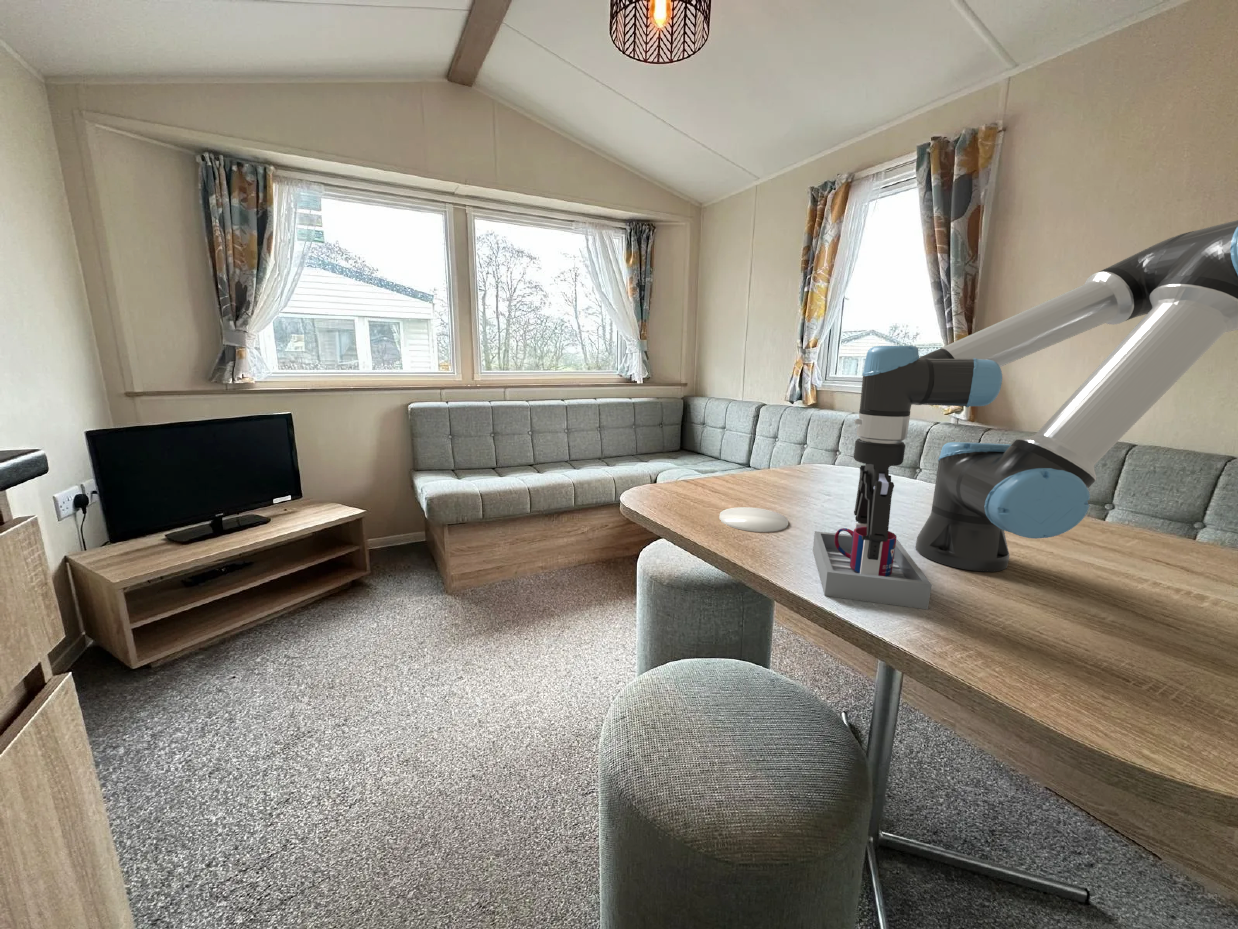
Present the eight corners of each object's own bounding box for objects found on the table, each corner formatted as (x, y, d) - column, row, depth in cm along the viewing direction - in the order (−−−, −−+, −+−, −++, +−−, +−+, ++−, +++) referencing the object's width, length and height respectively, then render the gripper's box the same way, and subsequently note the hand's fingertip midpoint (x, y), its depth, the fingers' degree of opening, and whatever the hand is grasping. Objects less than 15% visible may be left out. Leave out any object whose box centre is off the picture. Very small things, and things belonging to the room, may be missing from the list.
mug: (880, 580, 82) (885, 543, 80) (825, 561, 89) (828, 526, 88) (898, 571, 86) (903, 534, 84) (844, 553, 93) (848, 519, 92)
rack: (894, 559, 94) (897, 539, 93) (927, 609, 75) (931, 584, 75) (812, 550, 98) (814, 531, 97) (824, 595, 80) (827, 571, 79)
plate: (786, 515, 122) (786, 510, 122) (789, 536, 107) (790, 531, 107) (721, 509, 126) (722, 504, 126) (716, 529, 111) (716, 524, 111)
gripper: (846, 430, 92) (833, 543, 97) (868, 448, 73) (851, 587, 78) (890, 432, 90) (874, 547, 95) (924, 451, 71) (903, 594, 76)
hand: (864, 565), depth 86 cm, fingers open, 7 cm apart
